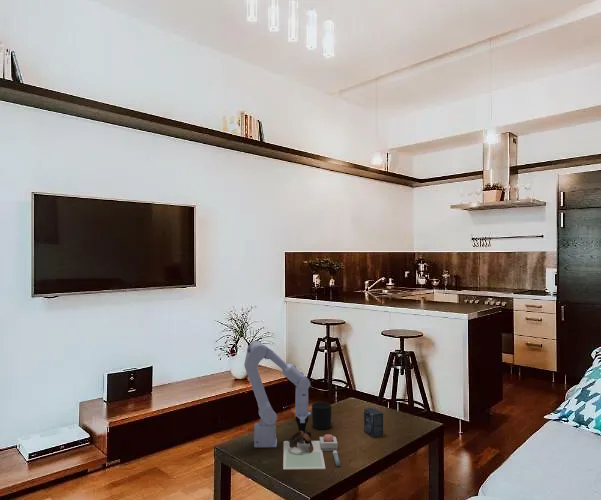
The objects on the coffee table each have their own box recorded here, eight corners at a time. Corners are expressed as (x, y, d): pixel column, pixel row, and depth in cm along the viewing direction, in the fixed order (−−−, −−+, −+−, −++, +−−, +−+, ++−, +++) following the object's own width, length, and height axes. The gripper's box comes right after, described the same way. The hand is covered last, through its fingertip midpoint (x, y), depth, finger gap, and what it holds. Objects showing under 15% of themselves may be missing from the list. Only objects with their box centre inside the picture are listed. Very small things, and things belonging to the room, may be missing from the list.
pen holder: (335, 425, 214) (334, 404, 215) (325, 431, 207) (325, 409, 207) (318, 421, 219) (318, 400, 220) (308, 427, 212) (308, 406, 212)
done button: (324, 445, 187) (324, 437, 187) (323, 441, 191) (323, 434, 191) (333, 445, 187) (333, 437, 187) (332, 441, 191) (332, 434, 191)
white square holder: (320, 450, 185) (320, 443, 186) (319, 443, 192) (319, 436, 193) (337, 450, 186) (337, 443, 186) (335, 443, 193) (335, 436, 193)
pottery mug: (310, 457, 180) (299, 439, 180) (292, 462, 184) (282, 445, 184) (321, 438, 190) (311, 422, 190) (304, 444, 195) (294, 428, 195)
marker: (335, 466, 171) (335, 461, 171) (332, 455, 181) (332, 450, 181) (340, 466, 171) (340, 461, 171) (337, 455, 181) (337, 450, 181)
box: (363, 431, 206) (363, 408, 206) (374, 429, 208) (374, 407, 209) (372, 437, 199) (372, 414, 199) (383, 436, 201) (383, 412, 201)
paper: (283, 469, 168) (283, 468, 168) (283, 441, 194) (283, 441, 194) (325, 469, 169) (325, 468, 169) (320, 441, 195) (320, 440, 195)
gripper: (311, 408, 190) (311, 440, 190) (310, 397, 204) (310, 427, 204) (295, 408, 190) (295, 440, 189) (294, 397, 204) (294, 427, 204)
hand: (301, 433), depth 197 cm, fingers closed
